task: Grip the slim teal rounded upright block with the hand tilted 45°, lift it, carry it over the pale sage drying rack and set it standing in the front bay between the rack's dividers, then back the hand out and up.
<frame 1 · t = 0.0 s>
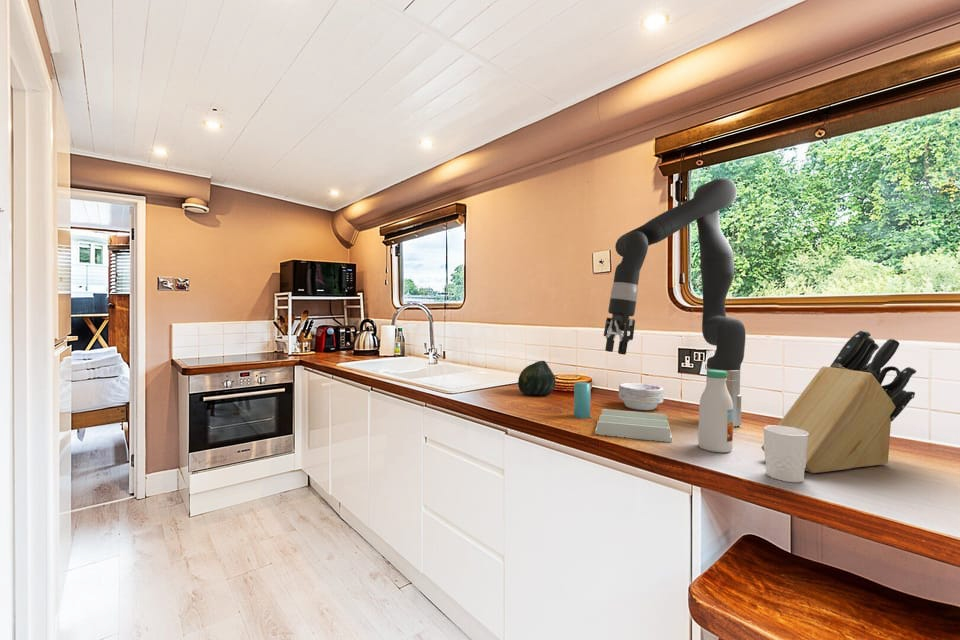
hand: (615, 352, 132), 22 cm above the worktop, tool pointing down, fingers open, 8 cm apart
white cup: (784, 477, 95), on the worktop
knife block: (838, 462, 105), on the worktop
milk bottle: (714, 449, 113), on the worktop
squash: (536, 395, 182), on the worktop
paper bowls: (640, 408, 160), on the worktop
teal rounded upright block: (581, 416, 145), on the worktop
rack: (632, 430, 130), on the worktop
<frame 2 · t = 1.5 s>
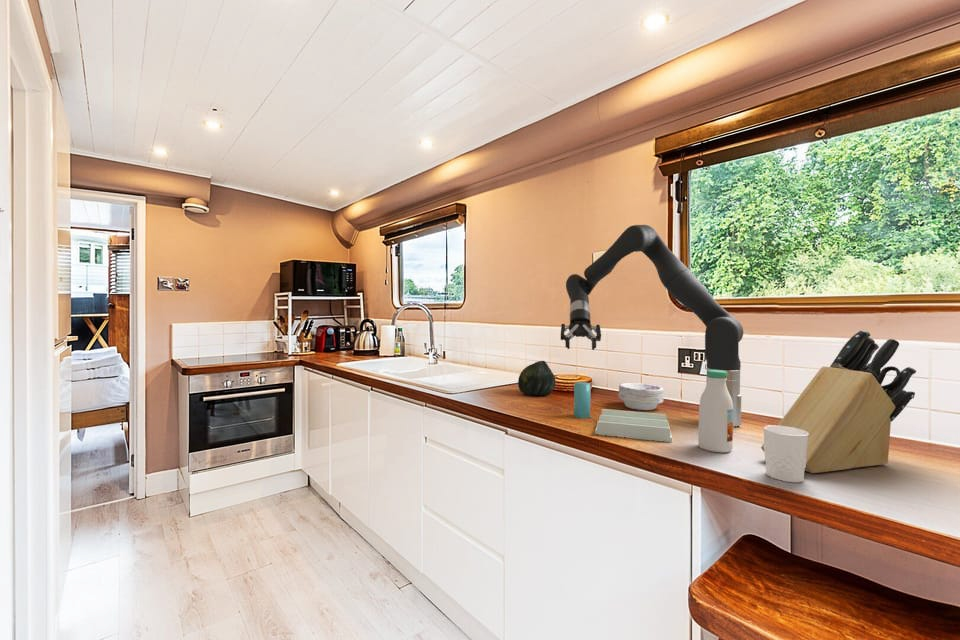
hand: (580, 348, 156), 22 cm above the worktop, tool tilted 45°, fingers open, 8 cm apart
nothing on the worktop moved.
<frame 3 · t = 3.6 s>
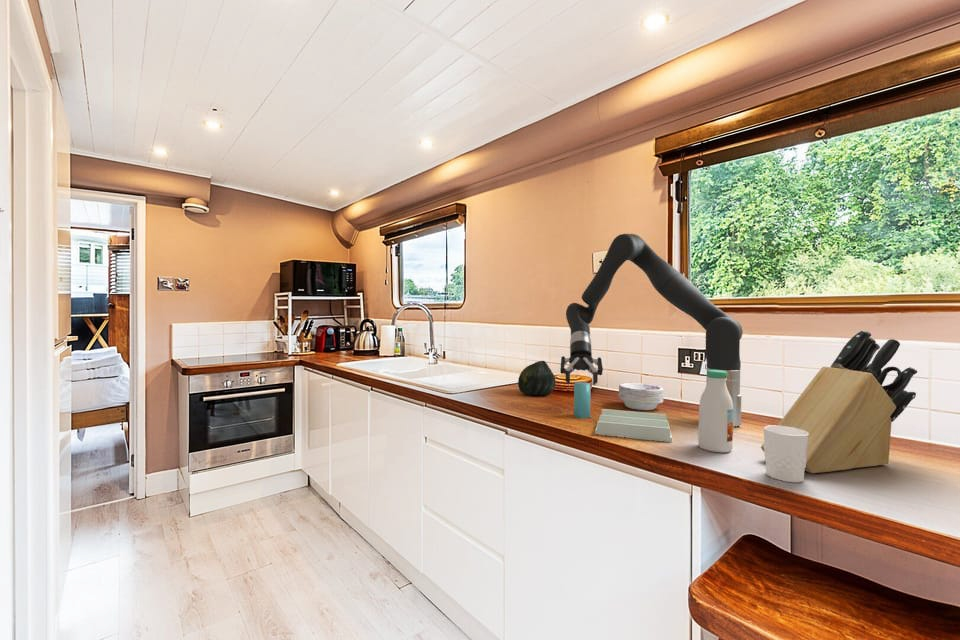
hand: (581, 382, 150), 10 cm above the worktop, tool tilted 45°, fingers open, 8 cm apart
nothing on the worktop moved.
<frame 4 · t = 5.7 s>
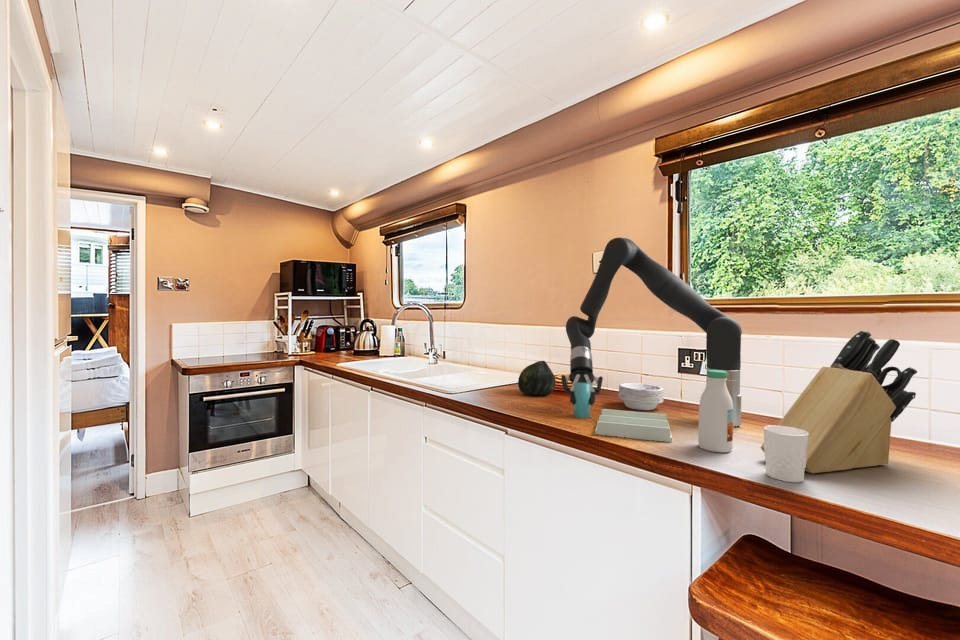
hand: (582, 403, 143), 5 cm above the worktop, tool tilted 45°, fingers closed on teal rounded upright block, 5 cm apart
teal rounded upright block: (581, 416, 145), on the worktop, touching gripper
everything else where it was.
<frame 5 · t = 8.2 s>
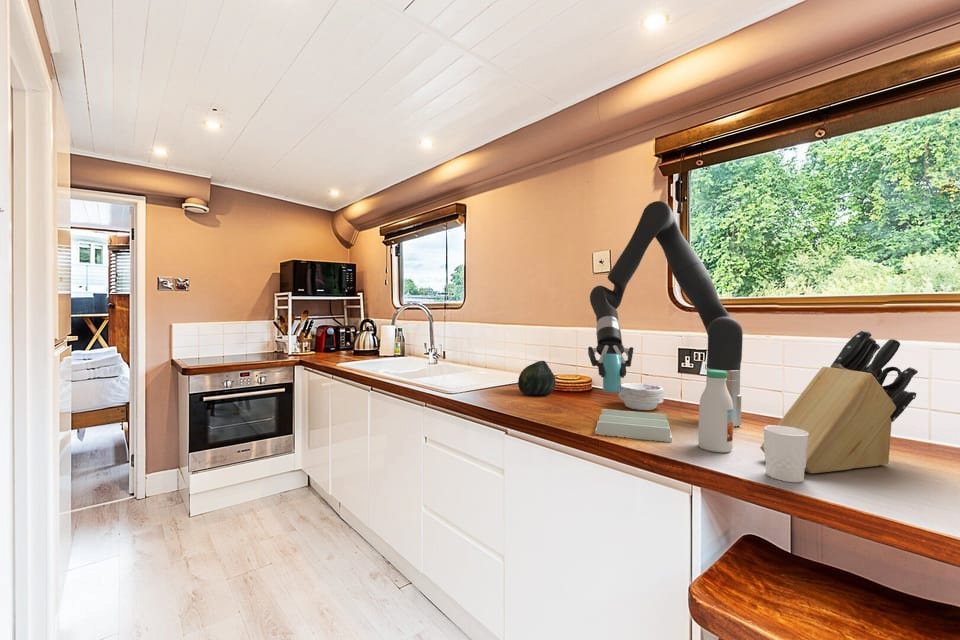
hand: (612, 375, 132), 16 cm above the worktop, tool tilted 45°, fingers closed on teal rounded upright block, 5 cm apart
teal rounded upright block: (611, 390, 134), point 11 cm above the worktop, touching gripper
everything else where it was.
when the fingers open (7 cm above the worktop, at t = 10.9 s): teal rounded upright block drops 1 cm, resting on rack.
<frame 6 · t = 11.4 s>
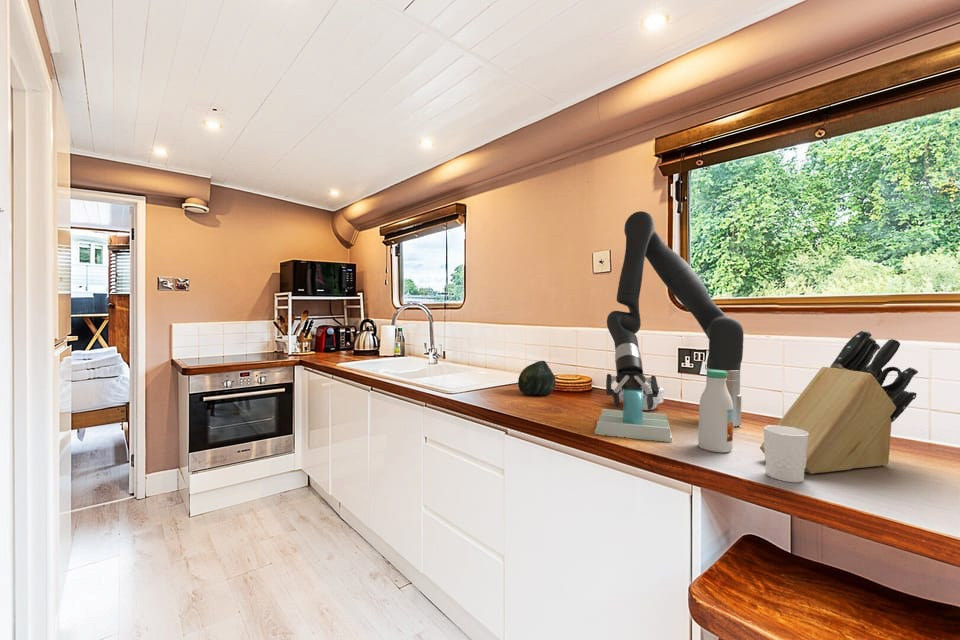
hand: (634, 407, 124), 8 cm above the worktop, tool tilted 45°, fingers open, 8 cm apart
teal rounded upright block: (632, 429, 126), point 1 cm above the worktop, touching rack
everything else where it was.
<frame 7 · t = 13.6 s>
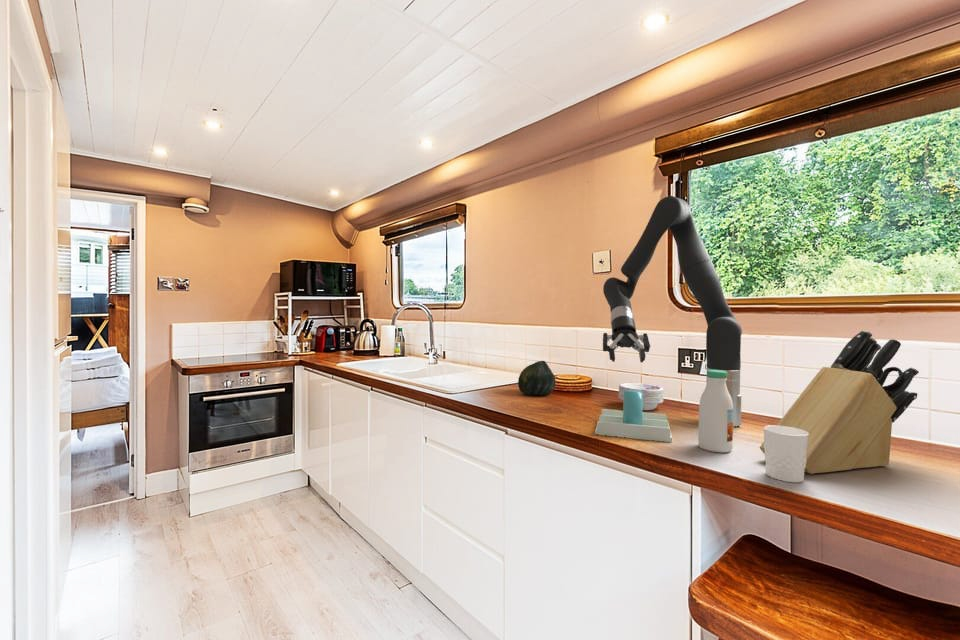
hand: (627, 360, 138), 19 cm above the worktop, tool tilted 45°, fingers open, 8 cm apart
nothing on the worktop moved.
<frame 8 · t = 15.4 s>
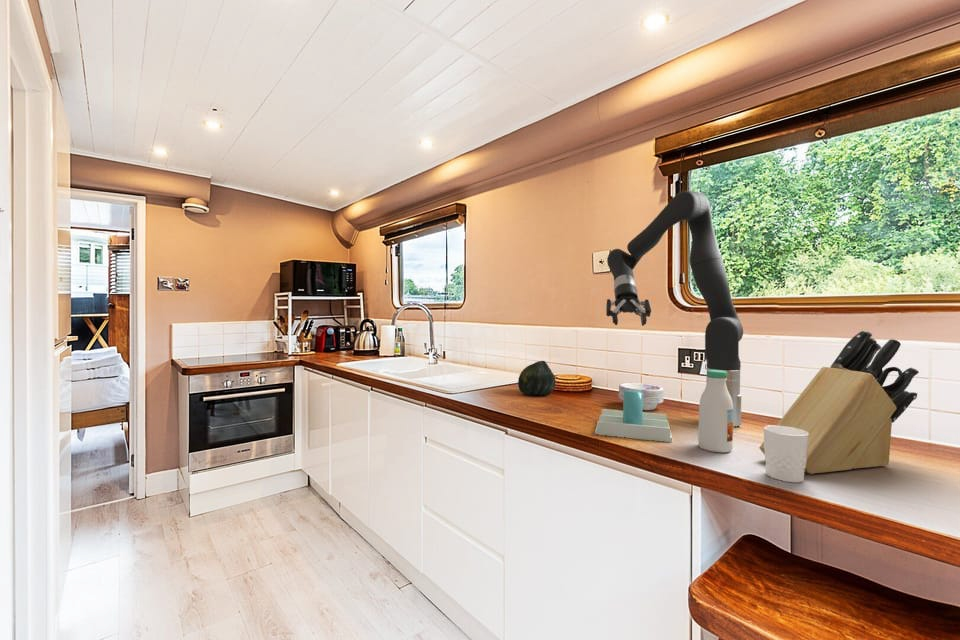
hand: (630, 323, 146), 31 cm above the worktop, tool tilted 45°, fingers open, 8 cm apart
white cup: (784, 477, 95), on the worktop, touching knife block
knife block: (838, 463, 104), on the worktop, touching white cup
everything else where it was.
at the end: teal rounded upright block inside the target area on the rack (0.1 cm from its centre), point 1.2 cm above the rack's base; teal rounded upright block tilted 0°; the gripper is holding nothing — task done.
